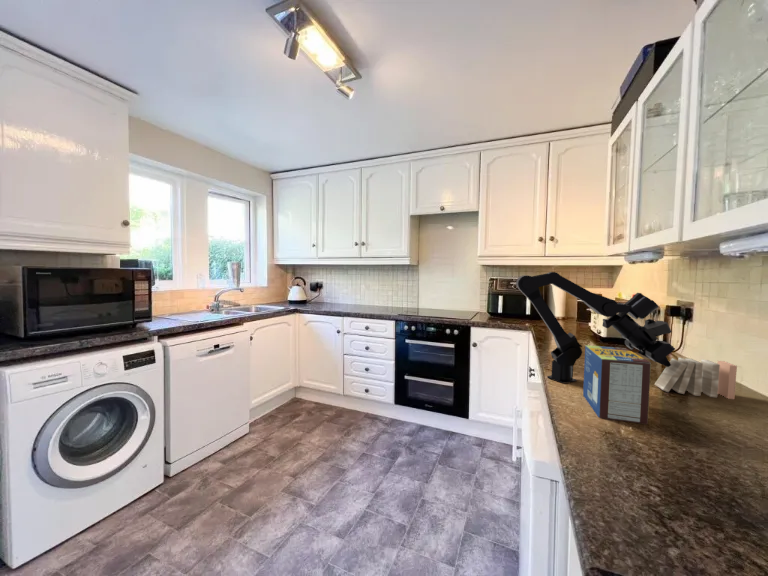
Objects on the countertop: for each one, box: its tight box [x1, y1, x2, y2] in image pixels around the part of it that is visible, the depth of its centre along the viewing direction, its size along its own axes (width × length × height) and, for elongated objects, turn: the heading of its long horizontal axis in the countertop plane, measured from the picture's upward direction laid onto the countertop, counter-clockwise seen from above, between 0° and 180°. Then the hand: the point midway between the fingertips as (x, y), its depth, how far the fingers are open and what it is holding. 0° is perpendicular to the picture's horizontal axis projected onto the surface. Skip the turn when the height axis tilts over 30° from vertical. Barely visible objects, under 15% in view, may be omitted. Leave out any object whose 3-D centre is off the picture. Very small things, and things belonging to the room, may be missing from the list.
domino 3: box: [685, 357, 703, 397], centre depth 97 cm, size 2×5×10 cm, turn 163°
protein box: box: [582, 344, 652, 425], centre depth 85 cm, size 10×15×16 cm
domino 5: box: [717, 360, 738, 400], centre depth 95 cm, size 2×5×10 cm, turn 163°
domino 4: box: [700, 359, 720, 399], centre depth 96 cm, size 2×5×10 cm, turn 163°
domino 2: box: [671, 357, 695, 395], centre depth 98 cm, size 2×5×10 cm, turn 164°
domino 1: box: [653, 357, 687, 393], centre depth 99 cm, size 2×5×10 cm, turn 164°
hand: (668, 365), depth 99 cm, fingers closed
